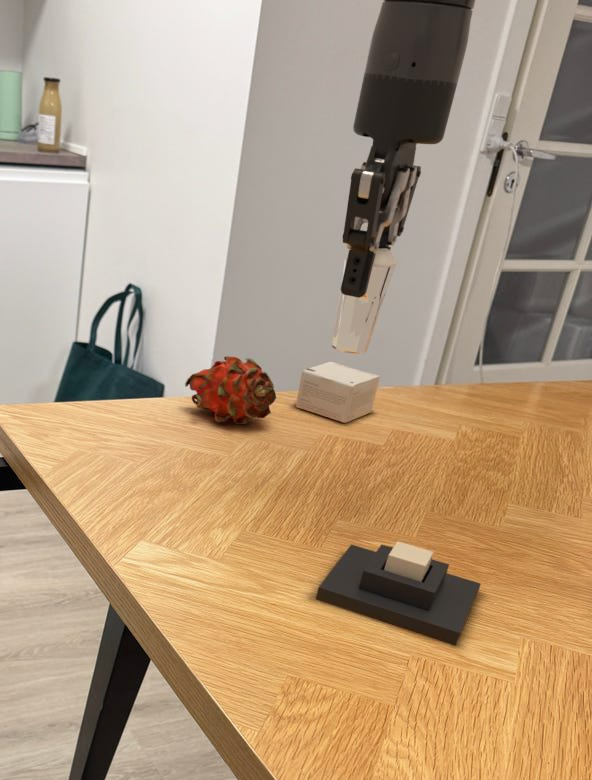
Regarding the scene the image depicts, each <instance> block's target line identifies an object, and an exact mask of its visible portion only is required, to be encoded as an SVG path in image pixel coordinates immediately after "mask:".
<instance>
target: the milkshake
mask: <svg viewBox="0 0 592 780" xmlns="http://www.w3.org/2000/svg"><path fill="white" fill-rule="evenodd" d="M348 253H349V251H347V253H346V254H345V255H344V261H343V262H344V263H343V271H342V278H341V281H342V280H343V276H344V271H345V267H346V262H347V258H348ZM396 264H397V258H396V257H395V255H394V254H393V252H392V251H391V249H390V250H389V249H387V248H382V249H380V248H378V249H377V251H376V254H375V258H374V263H373V267H372V271H371V275H370V279H369V284H368V288H367V292H366V294H365V295H364V296H362V297H359V298H358V297H353V296H348V295H344V294H342V292H341V291H339V298H338V304H337V311H336V318H335V324H334V330H333V335H332V336H333V337H332V342H331V347H332V348H333V349H334V350H336V351H340V352H343V353H348V354H354V355H359V354H362V355H363V354H365V353H366V352H367V351H368V348H369V346H370V342H371V339H372V336H373V334H374V333H373V332H374V329H375V327H376V324H377V320H378V317H379V314H380V312H381V308H382V305H383V302H384V298H385V296H386V294H387V290H388V287H389V284H390V283H391V279H392V277H393V273H394V270H395V268H396Z"/></svg>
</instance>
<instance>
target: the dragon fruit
mask: <svg viewBox="0 0 592 780" xmlns="http://www.w3.org/2000/svg"><path fill="white" fill-rule="evenodd" d="M223 359H224V361H223V360H222V361H221V360H217V361H215V362H214V364H213V365H212V366H211V367H210V368H208V369H207V368H206V369H201V370H200V371H198V372H196V373H192V374H191V375H190V376H189V377H188V378H187V379H186V380H185V383H184V384H183V385H184V387H185V388H187V387H188V386H189V389H190V391H194V392H196V393H195V394H192V395H191V401H192V403H193V404H194V405H195V406H196V408H197V409H200V410H205V411H208V412H210V413H211V415H212V416H214V420H215V421H216V422H217V423H218V424H221V423H223V422H228V420H229V419H232V420H233V422H234V423H235V425H247V424H248V423H249V418H250V419H255V418H257V419H266V417H267V416H269V415H270V414H271V413H272V412H271V408H270V406H271V405H272V404H273V403H274V402H275V401H276V399H277V395H276V391H275V389H274V388H275V387H274V383H273V381H272V379H271V377H270V375H269V374H268V373H267V372H266V371H263V369H262V367H261V366H260V365H259V364H258V363H257V362H256V361H255V360H254V359H253V358H249V357H246V358H245V362H243V361H242V360H241V358H239V357H236V356H229V355H226V356H223Z"/></svg>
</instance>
